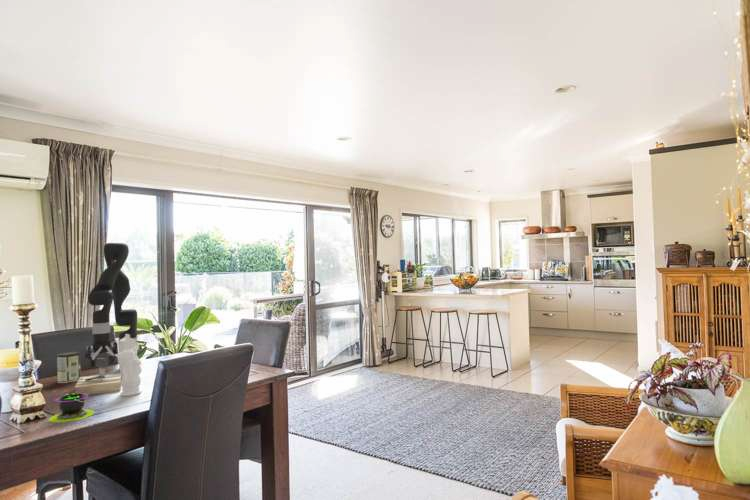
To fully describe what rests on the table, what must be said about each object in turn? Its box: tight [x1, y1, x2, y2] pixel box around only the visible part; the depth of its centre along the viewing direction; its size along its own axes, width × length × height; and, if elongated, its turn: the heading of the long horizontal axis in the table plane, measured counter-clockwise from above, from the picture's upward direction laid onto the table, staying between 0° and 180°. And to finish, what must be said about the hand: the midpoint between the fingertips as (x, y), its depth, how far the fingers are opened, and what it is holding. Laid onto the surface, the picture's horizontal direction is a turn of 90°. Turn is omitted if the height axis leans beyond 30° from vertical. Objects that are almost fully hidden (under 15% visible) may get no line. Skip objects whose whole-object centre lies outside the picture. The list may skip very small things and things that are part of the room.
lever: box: [85, 357, 109, 381], centre depth 230 cm, size 9×6×9 cm, turn 153°
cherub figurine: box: [114, 342, 142, 397], centre depth 218 cm, size 12×12×22 cm
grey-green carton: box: [56, 350, 82, 384], centre depth 247 cm, size 10×10×14 cm
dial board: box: [74, 371, 122, 397], centre depth 230 cm, size 24×18×4 cm
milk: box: [119, 334, 136, 378], centre depth 253 cm, size 6×6×22 cm
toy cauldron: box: [48, 385, 95, 423], centre depth 186 cm, size 15×15×11 cm
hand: (102, 365), depth 233 cm, fingers open, 8 cm apart
